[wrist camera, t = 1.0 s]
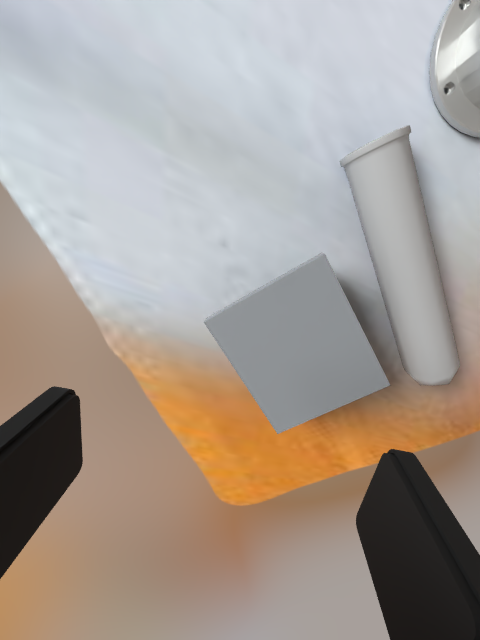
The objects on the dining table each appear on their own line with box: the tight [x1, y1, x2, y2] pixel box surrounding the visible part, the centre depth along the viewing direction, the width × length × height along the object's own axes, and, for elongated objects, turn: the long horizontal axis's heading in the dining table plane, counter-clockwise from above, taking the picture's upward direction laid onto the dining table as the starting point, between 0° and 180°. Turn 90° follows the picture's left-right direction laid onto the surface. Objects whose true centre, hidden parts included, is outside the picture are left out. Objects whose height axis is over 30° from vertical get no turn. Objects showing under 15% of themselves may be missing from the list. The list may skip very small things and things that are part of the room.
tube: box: [340, 125, 460, 386], centre depth 28 cm, size 5×5×25 cm
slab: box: [204, 253, 390, 434], centre depth 27 cm, size 12×14×1 cm
